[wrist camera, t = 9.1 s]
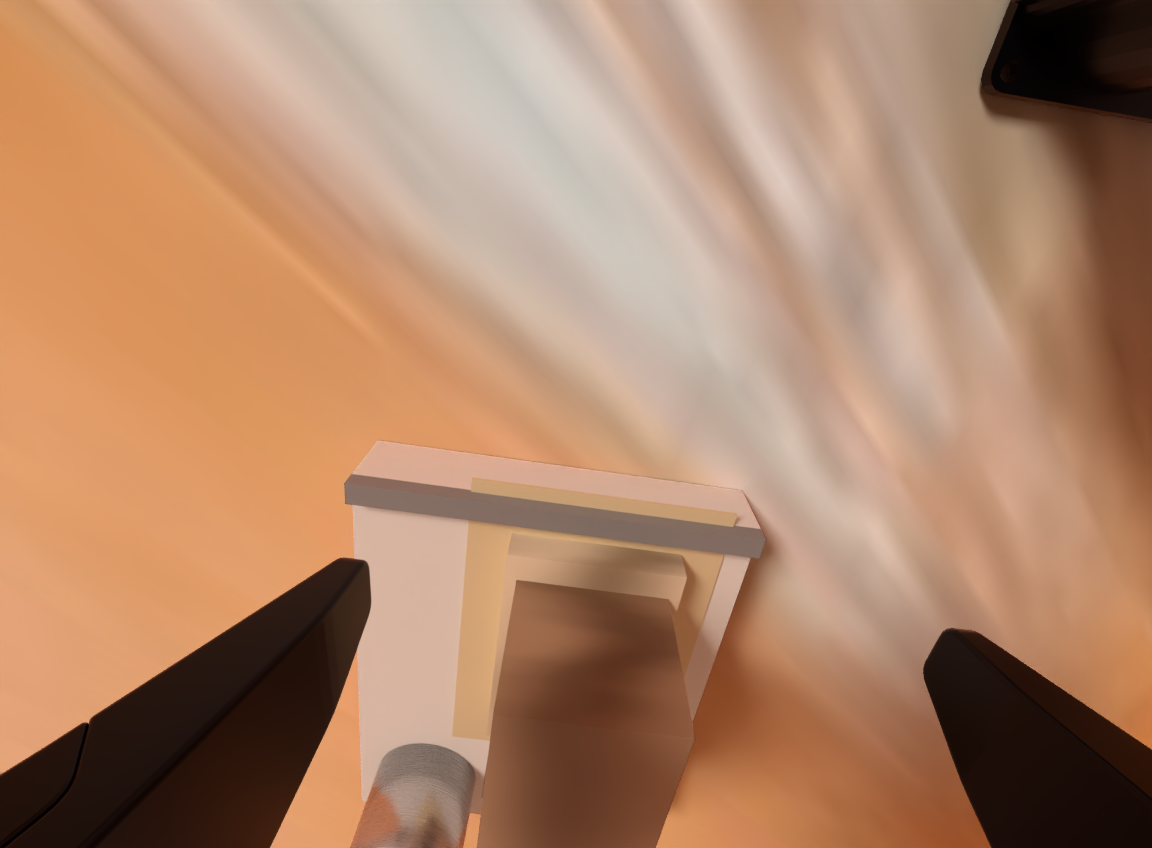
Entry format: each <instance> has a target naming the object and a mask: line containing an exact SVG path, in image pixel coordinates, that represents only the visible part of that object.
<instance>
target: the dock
mask: <svg viewBox="0 0 1152 848" xmlns="http://www.w3.org/2000/svg"><path fill="white" fill-rule="evenodd" d="M344 485H345V504H350V505H353V531H354V559H361V560H365V561H366V562H367V563H368V565H369V569H370V585H371V609H370V613H369V617H368V620H367V623H366V625H365V628H364V631H363V634H362V637H361V640H360V642H359V645H358V648H357V660H358V692H359V724H360V756H361V788H362V801H364V802H366V801H367V798H368V796H369V793H370V790H371V787H372V784H373V781H374V778H375V775H376V773H377V770H378V767H379V764H380V762H381V760H382V758H383V757H384V756H385V755H386V754H387V753H388V752H389V751H391V750H393V749H395V748H397V747H400V746H403V745H407V744H415V743H425V744H433V745H438V746H442V747H445V748H448V749H450V750H453V751H455V752H456V753H458V754H460V755H461V756H462V757H464V758H465V759H466V760H467V761H468V762H469V763H470V764H471V766H472V768H473V770H474V772H475V776H476V780H475V786H474V791H473V797H472V802H471V808H470V813H475V814H481V810H482V802H483V798H482V790H483V782H484V777H485V771H486V765H487V759H488V752H489V744H490V736H489V735H486V734H487V725H488V717H489V708H490V699H491V691H492V682H493V673H494V665H495V656H496V648H497V639H498V630H499V622H500V613H501V604H502V596H503V587H504V579H505V570H506V561H507V553H508V549H509V544H510V539H511V534H512V533H520V534H528V535H535V536H543V537H550V538H558V539H566V540H573V541H581V542H588V543H596V544H604V545H611V546H619V547H627V548H634V549H642V550H649V551H657V552H665V553H672V554H680V555H682V559H683V563H684V567H685V571H686V576H687V580H686V583H685V586H684V590H683V593H682V597H681V600H680V603H679V607H678V610H677V613H676V617H675V620H674V630H675V635H676V640H677V645H678V651H679V656H680V661H681V666H682V672H683V677H684V682H685V687H686V693H687V698H688V703H689V708H690V714H691V719H692V723H693V720H694V717H695V714H696V711H697V709H698V706H699V703H700V700H701V697H702V694H703V692H704V689H705V686H706V683H707V680H708V678H709V675H710V672H711V669H712V666H713V663H714V661H715V658H716V655H717V652H718V649H719V646H720V644H721V641H722V638H723V635H724V632H725V629H726V627H727V624H728V621H729V618H730V615H731V612H732V610H733V607H734V604H735V601H736V598H737V595H738V593H739V590H740V587H741V584H742V581H743V578H744V576H745V573H746V570H747V567H748V564H749V561H750V559H751V558H757V559H759V558H760V555H761V553H762V550H763V547H764V544H765V541H766V539H765V537H764V534H763V532H762V530H761V528H760V526H759V524H758V522H757V520H756V518H755V516H754V514H753V512H752V510H751V508H750V506H749V504H748V501H747V499H746V497H745V495H744V493H743V491H742V490H735V489H727V488H720V487H713V486H706V485H698V484H691V483H684V482H677V481H669V480H662V479H655V478H648V477H640V476H633V475H626V474H619V473H611V472H604V471H597V470H590V469H582V468H575V467H568V466H561V465H553V464H546V463H539V462H532V461H524V460H517V459H510V458H503V457H495V456H488V455H481V454H474V453H466V452H459V451H452V450H445V449H437V448H430V447H423V446H416V445H408V444H401V443H394V442H387V441H379V440H378V441H377V442H376V443H375V445H374V446H373V447H372V448H371V450H370V451H369V452H368V454H367V455H366V456H365V457H364V459H363V460H362V461H361V463H360V464H359V465H358V466H357V468H356V469H355V470H354V472H353V473H352V474H351V475H350V477H349V478H348V479H347V481H346V482H345V483H344Z"/></svg>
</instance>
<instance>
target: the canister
mask: <svg viewBox="0 0 1152 848" xmlns="http://www.w3.org/2000/svg"><path fill="white" fill-rule="evenodd" d="M475 780H476V776H475V772H474V770H473V768H472V766H471V764H470V763H469V762H468V761H467V760H466V759H465V758H464V757H462V756H461V755H460V754H458V753H456V752H455V751H453V750H450V749H448V748H445V747H442V746H438V745H433V744H425V743H415V744H407V745H403V746H400V747H397V748H395V749H393V750H391V751H389V752H388V753H387V754H386V755H385V756H384V757H383V758H382V760H381V762H380V764H379V767H378V770H377V773H376V775H375V778H374V781H373V784H372V787H371V790H370V793H369V796H368V798H367V801H366V804H365V807H364V810H363V813H362V816H361V818H360V821H359V824H358V827H357V830H356V833H355V836H354V839H353V841H352V844H351V847H350V848H463V846H464V841H465V835H466V830H467V824H468V819H469V813H470V808H471V802H472V797H473V791H474V786H475Z"/></svg>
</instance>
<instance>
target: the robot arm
mask: <svg viewBox="0 0 1152 848" xmlns="http://www.w3.org/2000/svg"><path fill="white" fill-rule="evenodd" d="M1005 64H1007V65H1009V68H1010V74H1009V77H1008V78H1007V80H1006V81H1005V82H1004V81H1002V79H1001V77H1000V74H1001V70H1002V68H1003V67H1004V65H1005ZM981 82H982V87H983V89H984V90H985V92H987V93H989V94H991V95H996V96H1001V97H1007V98H1013V99H1018V100H1024V101H1030V102H1036V103H1041V104H1047V105H1053V106H1058V107H1064V108H1070V109H1076V110H1081V111H1087V112H1093V113H1098V114H1104V115H1110V116H1116V117H1121V118H1127V119H1133V120H1138V121H1144V122H1150V123H1152V0H1011V1H1010V3H1009V6H1008V8H1007V11H1006V14H1005V16H1004V19H1003V21H1002V24H1001V26H1000V29H999V31H998V34H997V36H996V39H995V41H994V44H993V47H992V49H991V52H990V54H989V57H988V59H987V62H986V64H985V67H984V69H983V73H982V77H981ZM370 609H371V585H370V569H369V565H368V563H367V562H366V561H365V560H361V559H352V558H339V559H337V560H335V561H333V562H332V563H330V564H329V565H327V566H326V567H324V568H323V569H321V570H320V571H318V572H316V573H315V574H313V575H312V576H310V577H309V578H307V579H306V580H304V581H302V582H301V583H299V584H298V585H296V586H295V587H293V588H292V589H290V590H288V591H287V592H285V593H284V594H282V595H281V596H279V597H278V598H276V599H274V600H273V601H271V602H270V603H268V604H267V605H265V606H264V607H262V608H260V609H259V610H257V611H256V612H254V613H253V614H251V615H250V616H248V617H246V618H245V619H243V620H242V621H240V622H239V623H237V624H236V625H234V626H233V627H231V628H229V629H228V630H226V631H225V632H223V633H222V634H220V635H219V636H217V637H215V638H214V639H212V640H211V641H209V642H208V643H206V644H205V645H203V646H201V647H200V648H198V649H197V650H195V651H194V652H192V653H191V654H189V655H187V656H186V657H184V658H183V659H181V660H180V661H178V662H177V663H175V664H173V665H172V666H170V667H169V668H167V669H166V670H164V671H163V672H161V673H159V674H158V675H156V676H155V677H153V678H152V679H150V680H149V681H147V682H146V683H144V684H142V685H141V686H139V687H138V688H136V689H135V690H133V691H132V692H130V693H128V694H127V695H125V696H124V697H122V698H121V699H119V700H118V701H116V702H114V703H113V704H111V705H110V706H108V707H107V708H105V709H104V710H102V711H100V712H99V713H97V714H96V715H94V716H93V717H92V718H91V719H90V721H89V724H88V723H82V724H80V725H78V726H77V727H75V728H74V729H72V730H71V731H69V732H67V733H66V734H64V735H63V736H61V737H60V738H58V739H57V740H55V741H53V742H52V743H50V744H49V745H47V746H46V747H44V748H42V749H41V750H39V751H38V752H36V753H34V754H33V755H31V756H30V757H28V758H26V759H25V760H23V761H22V762H20V763H18V764H17V765H15V766H14V767H12V768H10V769H9V770H7V771H6V772H4V773H2V774H1V775H0V848H270V847H271V845H272V842H273V840H274V838H275V836H276V834H277V832H278V830H279V828H280V826H281V824H282V822H283V819H284V817H285V815H286V813H287V811H288V809H289V807H290V805H291V803H292V801H293V799H294V797H295V794H296V792H297V790H298V788H299V786H300V784H301V782H302V780H303V778H304V776H305V774H306V771H307V769H308V767H309V765H310V763H311V761H312V759H313V757H314V755H315V753H316V751H317V749H318V746H319V744H320V742H321V740H322V738H323V736H324V734H325V732H326V730H327V728H328V725H329V723H330V721H331V719H332V716H333V714H334V712H335V709H336V706H337V704H338V701H339V698H340V696H341V693H342V690H343V687H344V685H345V682H346V679H347V676H348V673H349V670H350V668H351V665H352V662H353V659H354V656H355V654H356V651H357V648H358V645H359V642H360V640H361V637H362V634H363V631H364V628H365V625H366V623H367V620H368V617H369V613H370ZM923 674H924V680H925V683H926V686H927V689H928V692H929V694H930V697H931V700H932V703H933V705H934V708H935V711H936V714H937V717H938V719H939V722H940V725H941V728H942V731H943V733H944V736H945V739H946V742H947V744H948V747H949V750H950V753H951V756H952V758H953V761H954V764H955V767H956V769H957V772H958V774H959V777H960V780H961V782H962V784H963V787H964V789H965V791H966V794H967V796H968V798H969V801H970V803H971V805H972V807H973V809H974V811H975V814H976V816H977V818H978V820H979V822H980V824H981V827H982V829H983V831H984V833H985V835H986V837H987V840H988V842H989V844H990V846H991V848H1152V750H1151V749H1150V748H1148V747H1147V746H1145V745H1144V744H1143V743H1141V742H1140V741H1138V740H1137V739H1135V738H1134V737H1132V736H1131V735H1129V734H1128V733H1126V732H1125V731H1123V730H1122V729H1120V728H1119V727H1117V726H1116V725H1114V724H1113V723H1111V722H1110V721H1109V720H1107V719H1106V718H1104V717H1103V716H1101V715H1100V714H1098V713H1097V712H1095V711H1094V710H1092V709H1091V708H1089V707H1088V706H1086V705H1085V704H1083V703H1082V702H1080V701H1079V700H1077V699H1076V698H1074V697H1073V696H1072V695H1070V694H1069V693H1067V692H1066V691H1064V690H1063V689H1061V688H1060V687H1058V686H1057V685H1055V684H1054V683H1052V682H1051V681H1049V680H1048V679H1046V678H1045V677H1043V676H1042V675H1040V674H1039V673H1038V672H1036V671H1035V670H1033V669H1032V668H1030V667H1029V666H1027V665H1026V664H1024V663H1023V662H1021V661H1020V660H1018V659H1017V658H1015V657H1014V656H1012V655H1011V654H1009V653H1008V652H1006V651H1005V650H1004V649H1002V648H1001V647H999V646H998V645H996V644H995V643H993V642H992V641H990V640H989V639H987V638H986V637H984V636H983V635H981V634H980V633H978V632H975V631H972V630H964V629H956V628H949V629H946V630H945V631H943V632H942V633H941V635H940V636H939V638H938V640H937V642H936V644H935V645H934V647H933V649H932V651H931V652H930V654H929V656H928V658H927V660H926V661H925V664H924V668H923Z"/></svg>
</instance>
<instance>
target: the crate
mask: <svg viewBox="0 0 1152 848" xmlns="http://www.w3.org/2000/svg"><path fill="white" fill-rule="evenodd" d="M686 580H687V576H686V571H685V567H684V563H683V559H682V555H680V554H672V553H665V552H657V551H649V550H642V549H634V548H627V547H619V546H611V545H604V544H596V543H588V542H581V541H573V540H566V539H558V538H550V537H543V536H535V535H528V534H520V533H512V534H511V539H510V544H509V549H508V553H507V561H506V570H505V579H504V587H503V596H502V604H501V613H500V622H499V630H498V639H497V648H496V656H495V665H494V673H493V682H492V691H491V699H490V708H489V717H488V725H487V734H486V735H489V736H490V744H489V752H488V759H487V765H486V771H485V777H484V782H483V790H482V798H483V802H482V810H481V818H480V827H479V835H478V843H477V848H656V845H657V842H658V840H659V837H660V834H661V831H662V829H663V826H664V823H665V820H666V818H667V815H668V812H669V809H670V807H671V804H672V801H673V798H674V795H675V793H676V790H677V787H678V784H679V782H680V779H681V776H682V773H683V771H684V768H685V765H686V762H687V760H688V757H689V754H690V751H691V748H692V746H693V743H694V740H695V735H694V729H693V724H692V719H691V714H690V708H689V703H688V698H687V693H686V687H685V682H684V677H683V672H682V666H681V661H680V656H679V651H678V645H677V640H676V635H675V630H674V620H675V617H676V613H677V610H678V607H679V603H680V600H681V597H682V593H683V590H684V586H685V583H686Z"/></svg>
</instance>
